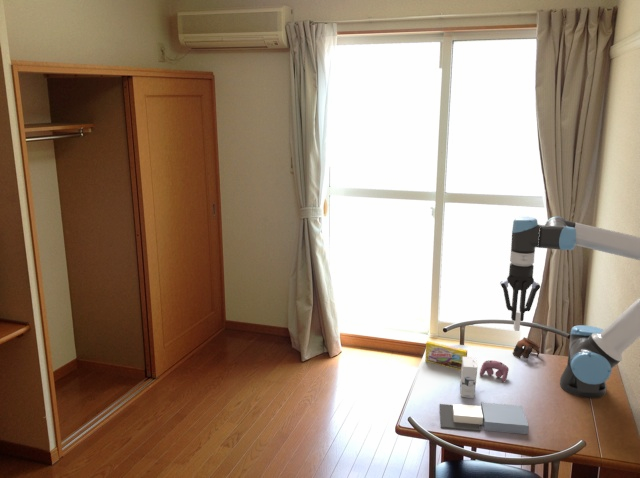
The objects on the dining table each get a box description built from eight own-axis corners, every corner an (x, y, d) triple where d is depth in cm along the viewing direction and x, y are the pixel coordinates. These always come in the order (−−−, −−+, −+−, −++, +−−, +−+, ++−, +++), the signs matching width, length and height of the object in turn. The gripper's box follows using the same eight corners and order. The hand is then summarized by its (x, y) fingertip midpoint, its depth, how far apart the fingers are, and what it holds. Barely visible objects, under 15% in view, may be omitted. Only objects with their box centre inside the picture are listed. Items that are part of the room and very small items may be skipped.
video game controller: (507, 383, 214) (510, 364, 215) (505, 382, 210) (508, 363, 211) (480, 376, 219) (484, 358, 220) (478, 376, 215) (481, 357, 216)
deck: (521, 413, 190) (522, 405, 189) (527, 434, 178) (528, 425, 178) (480, 410, 192) (481, 402, 191) (484, 430, 181) (485, 421, 180)
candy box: (424, 361, 228) (425, 342, 226) (426, 359, 229) (427, 340, 227) (464, 371, 219) (466, 351, 217) (466, 369, 221) (467, 349, 219)
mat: (475, 408, 193) (476, 407, 193) (479, 431, 180) (479, 430, 180) (439, 405, 195) (439, 403, 195) (440, 427, 182) (440, 426, 182)
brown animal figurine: (509, 351, 238) (520, 334, 238) (530, 363, 237) (541, 346, 236) (513, 356, 227) (524, 338, 226) (535, 369, 225) (546, 351, 224)
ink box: (459, 385, 209) (461, 355, 206) (474, 386, 208) (476, 357, 205) (460, 397, 200) (462, 366, 198) (475, 398, 199) (477, 367, 197)
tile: (480, 413, 189) (480, 406, 189) (482, 424, 183) (483, 417, 182) (452, 410, 191) (453, 403, 190) (453, 421, 184) (454, 414, 184)
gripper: (503, 265, 189) (498, 332, 195) (544, 267, 187) (538, 334, 193) (499, 259, 196) (495, 324, 202) (539, 261, 194) (534, 326, 200)
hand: (516, 329), depth 197 cm, fingers closed
